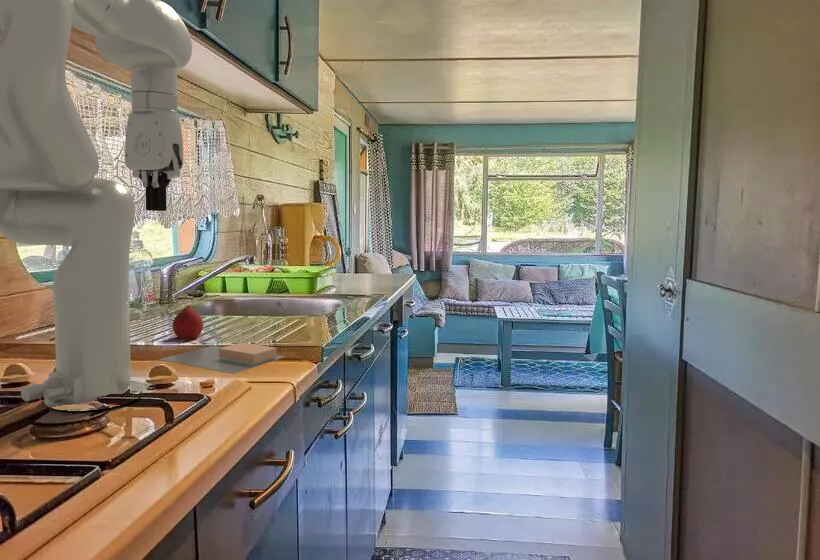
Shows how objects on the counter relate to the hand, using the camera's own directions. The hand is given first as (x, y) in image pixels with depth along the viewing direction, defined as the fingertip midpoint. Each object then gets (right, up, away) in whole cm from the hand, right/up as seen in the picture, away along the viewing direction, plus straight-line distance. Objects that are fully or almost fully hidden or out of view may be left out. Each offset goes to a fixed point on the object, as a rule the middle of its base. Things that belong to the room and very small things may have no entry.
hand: (156, 210), depth 112 cm
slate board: (+12, -28, 0) cm, 30 cm away
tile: (+13, -25, +2) cm, 28 cm away
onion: (0, -26, +16) cm, 30 cm away
